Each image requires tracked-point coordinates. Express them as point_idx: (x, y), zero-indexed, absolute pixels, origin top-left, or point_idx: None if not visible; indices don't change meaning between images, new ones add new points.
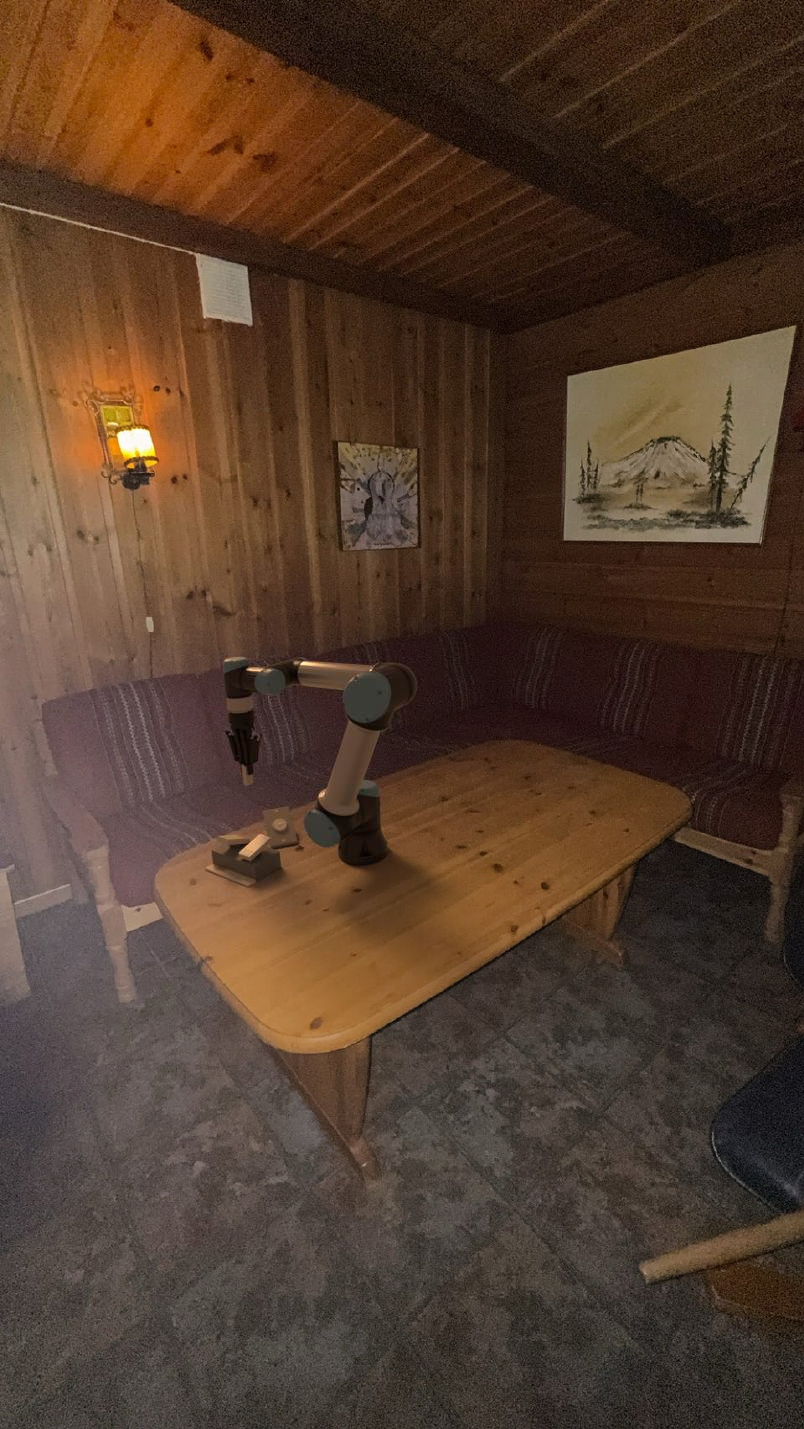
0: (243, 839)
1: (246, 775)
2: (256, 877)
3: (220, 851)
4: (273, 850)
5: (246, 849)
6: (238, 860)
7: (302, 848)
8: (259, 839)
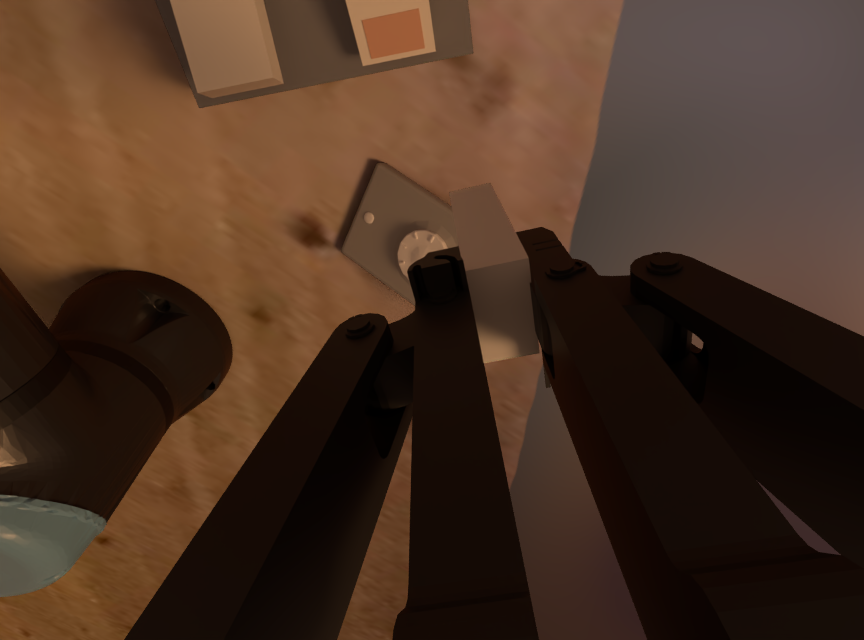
0: (349, 9)
1: (456, 228)
2: None
3: None
4: None
5: None
6: None
7: (303, 239)
8: (230, 41)
